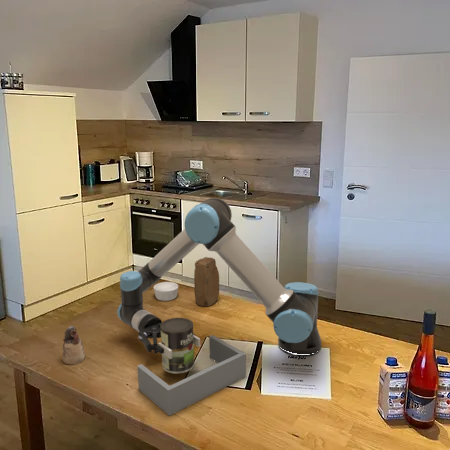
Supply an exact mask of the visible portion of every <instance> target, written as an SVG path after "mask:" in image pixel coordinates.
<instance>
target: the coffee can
mask: <svg viewBox="0 0 450 450" xmlns="http://www.w3.org/2000/svg"><path fill="white" fill-rule="evenodd" d="M160 329H161V337H160V339H161V342H160V343H162V344H163V345H165V346H166V347H168V348H169V349H171V350H172V359H169V358H168V357H166V356H165V355H164V354H161V356H162V357H161V359H162V367H161V368H162V369H163V370H164V371H165V372H166V373H170V374H175V375H179V374H185V373H188V372H190V371H191V370H193V368H194V366H195V349H194V348H195V347H194V346H195V345H194V343H193V334H194V322H193V321H192V320H191V319H189V318H187V317H172V318H168V319H166V320H164V321H162V323H161V325H160Z"/></svg>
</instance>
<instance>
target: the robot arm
mask: <svg viewBox="0 0 450 450" xmlns="http://www.w3.org/2000/svg"><path fill="white" fill-rule="evenodd" d="M232 214H233V213H232V209H231V207H230V206H229V204H228V203H227V201H225V200H223V199H221V198H219V197H211V198H207V199H206V200H204V201H202V202H201V203H198V204H196V205H195V206H194V207H192V208H191V209H190V210H189V211H188V212H187V213H186V215H185V219H184V226H183V227H184V229H183V230H182V231H180V232H179V233H178V234H177V235H176V236H175V237H174V238H173V239H172V240H171V241H170V242H169V243H168V244H167V245H165V246H164V247H163V248H162V249H161V250H160V251H159V252H158V253H157V254H156V255H154V257H152V259H150V260H149V261H148V262H147V263H146V264H145V265H144V266H142V267H141V269H139V270H138V271H136V270H135V271H134V270H131V271H130V270H129V271H126V272H123V273H122V274H121V275H120V276H119V289H120V299H121V300H120V302H121V303H120V304H119V305H118V308H117V311H116V313H117V317H118V319H119V320H120V321H122V323H124V324H125V325H128V326H129V327H131V328H132V329H134V330H135V331H136V332H138V341H140V342H141V343H142V345H143V346H144V348H145V350H146V352H147V353H152V351H153V353H154V354H160V355H162V354H164V355H165V356H166V357H168V358H169V359H172V350H171V349H169V348H168V347H166V346H165V345H163V344H162V343H161V342H158V339H161V329H160V325H161V323H162V322H163V321H162V320H161V319H160V318H159V317H158V316H156V315H154V314H153V313H152V312H149V311H148V310H146V309H145V308H144V296H143V294H144V293H146V292H147V291H148V290H149V289H150V288H151V287H153V286H154V285H156V284H157V283H159V281H160V280H161V278H162V277H164V276H165V275H166V274H167V273H168V272H169V271H170V270H171V269H173V268H174V267H175V266H176V265H177V264H178V263H179V262H181V261H182V260H183V259H184V258H185V257H186V256H187V255H188V254H190V252H193V250H194V249H195V248H196V247H198V246H199V245H203V247H205V248H206V249H207V250H208V251H209V252H215V253H216V254H218V256H219V257H220V258H221V259H222V260H223V261H224V262H225V263H226V265H227V266H228V267H229V268H230V269H231V270H232V271H233V273H234V274H235V275H236V276H237V277H238V278H239V279H240V281H241V282H243V284H245V286H246V287H247V288H248V289H249V291H250V292H251V293H252V294H253V295H254V296H255V297H256V298H257V299H258V301H260V302H261V304H262V305H263V306H264V307H265V315H266V317H267V318H268V319H269V321H271V322H272V323H273V326H272V327H273V331H274V333H275V335H276V336H277V338H278V339H277V345H279V346H280V347H281V348H282V349H284V350H286V351H289V352H292V353H297V354H312V353H316V352H317V351H319V350H320V351H321V349H322V339H321V336H320V332H319V328H318V309H319V307H318V305H319V304H318V303H319V295H320V294H319V288H318V287H317V286H316V285H315V284H312V283H308V282H302V281H301V282H300V281H295V282H289V283H286V284H284V285H282V284H281V283H280V281H279V280H278V279H277V278H276V277H275V275H273V274H272V272H271V271H270V270H269V269H268V268H267V267H266V266H265V264H264V263H262V261H261V260H260V259H259V258H258V257H257V256H256V255H255V253H254V252H253V251H252V250H251V249H250V248H249V247H248V246H247V244H246V243H245V242H244V241H243V240H242V239H241V238H240V237H239V236H238V234H237V233H236V229H237V228H236V226H235V224H234V223H233V221H231V220H232V217H233V215H232ZM150 339H152V343H151V341H150ZM193 343H194V346H196V347H197V348H200V347H201V338H200V337H198V336H197V335H196V334H194V333H193ZM279 346H278V347H279ZM320 351H319V352H320ZM317 353H318V352H317ZM317 353H316V354H317Z"/></svg>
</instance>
